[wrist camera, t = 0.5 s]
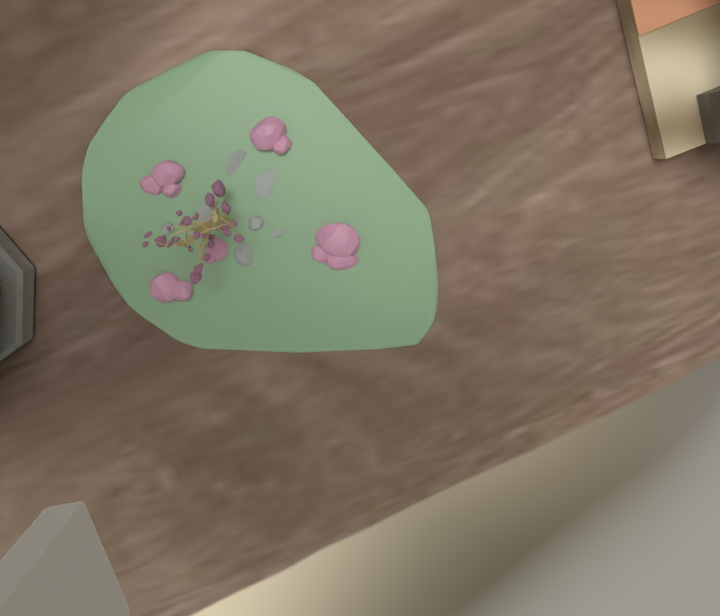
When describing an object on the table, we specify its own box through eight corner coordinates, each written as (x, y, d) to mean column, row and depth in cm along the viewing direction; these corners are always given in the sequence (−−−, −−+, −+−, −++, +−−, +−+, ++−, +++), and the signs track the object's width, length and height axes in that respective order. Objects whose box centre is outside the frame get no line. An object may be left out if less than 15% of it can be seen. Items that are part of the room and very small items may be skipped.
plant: (496, 129, 34) (542, 121, 26) (404, 404, 40) (416, 474, 31) (116, 13, 33) (27, -38, 24) (74, 319, 38) (-10, 368, 29)
